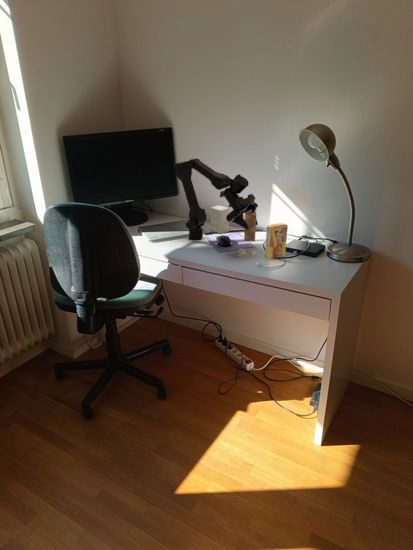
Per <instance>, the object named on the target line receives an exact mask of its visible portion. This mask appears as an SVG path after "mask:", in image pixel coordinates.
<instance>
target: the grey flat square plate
mask: <svg viewBox="0 0 413 550" xmlns="http://www.w3.org/2000/svg"><path fill="white" fill-rule="evenodd" d="M260 250H261V249H259V248H238V256H237V257H239V258H245V257H246V258H261V251H260Z"/></svg>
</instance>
